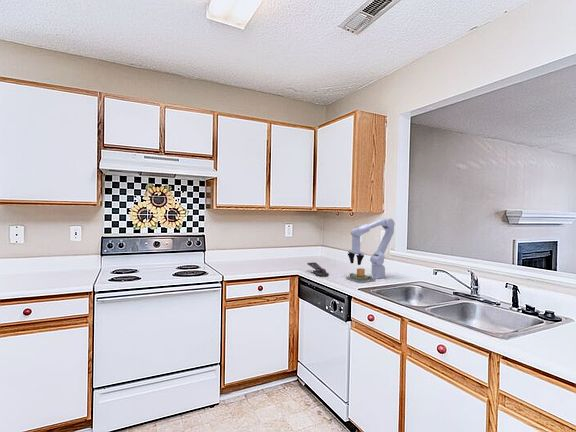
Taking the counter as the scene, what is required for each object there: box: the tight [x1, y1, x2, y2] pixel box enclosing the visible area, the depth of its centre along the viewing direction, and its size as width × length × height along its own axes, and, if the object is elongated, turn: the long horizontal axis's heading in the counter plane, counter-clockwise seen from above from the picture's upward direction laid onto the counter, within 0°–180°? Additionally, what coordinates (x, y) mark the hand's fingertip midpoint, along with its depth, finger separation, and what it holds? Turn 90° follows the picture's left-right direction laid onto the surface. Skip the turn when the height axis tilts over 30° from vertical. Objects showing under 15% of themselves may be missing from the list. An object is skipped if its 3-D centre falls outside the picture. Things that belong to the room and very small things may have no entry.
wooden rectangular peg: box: [356, 267, 366, 277], centre depth 229 cm, size 4×3×8 cm, turn 119°
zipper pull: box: [306, 262, 330, 278], centre depth 250 cm, size 9×7×25 cm
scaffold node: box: [346, 272, 377, 284], centre depth 231 cm, size 14×17×4 cm
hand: (355, 264), depth 237 cm, fingers open, 7 cm apart
